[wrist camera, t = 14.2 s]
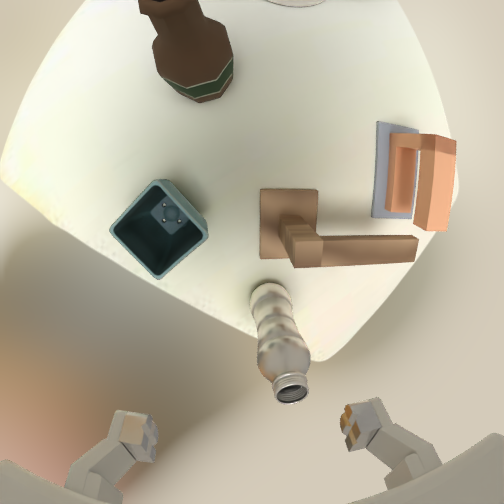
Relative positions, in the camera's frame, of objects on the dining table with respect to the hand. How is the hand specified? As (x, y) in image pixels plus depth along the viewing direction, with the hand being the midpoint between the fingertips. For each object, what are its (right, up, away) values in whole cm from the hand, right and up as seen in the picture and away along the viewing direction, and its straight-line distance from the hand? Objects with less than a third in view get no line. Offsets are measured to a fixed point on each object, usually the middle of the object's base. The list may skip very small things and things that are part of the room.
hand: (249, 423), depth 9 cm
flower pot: (-11, +12, +28) cm, 33 cm away
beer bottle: (-6, +30, +21) cm, 37 cm away
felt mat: (+23, +19, +27) cm, 41 cm away
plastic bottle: (+3, 0, +34) cm, 34 cm away
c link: (+23, +19, +27) cm, 40 cm away
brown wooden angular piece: (+11, +11, +30) cm, 34 cm away
